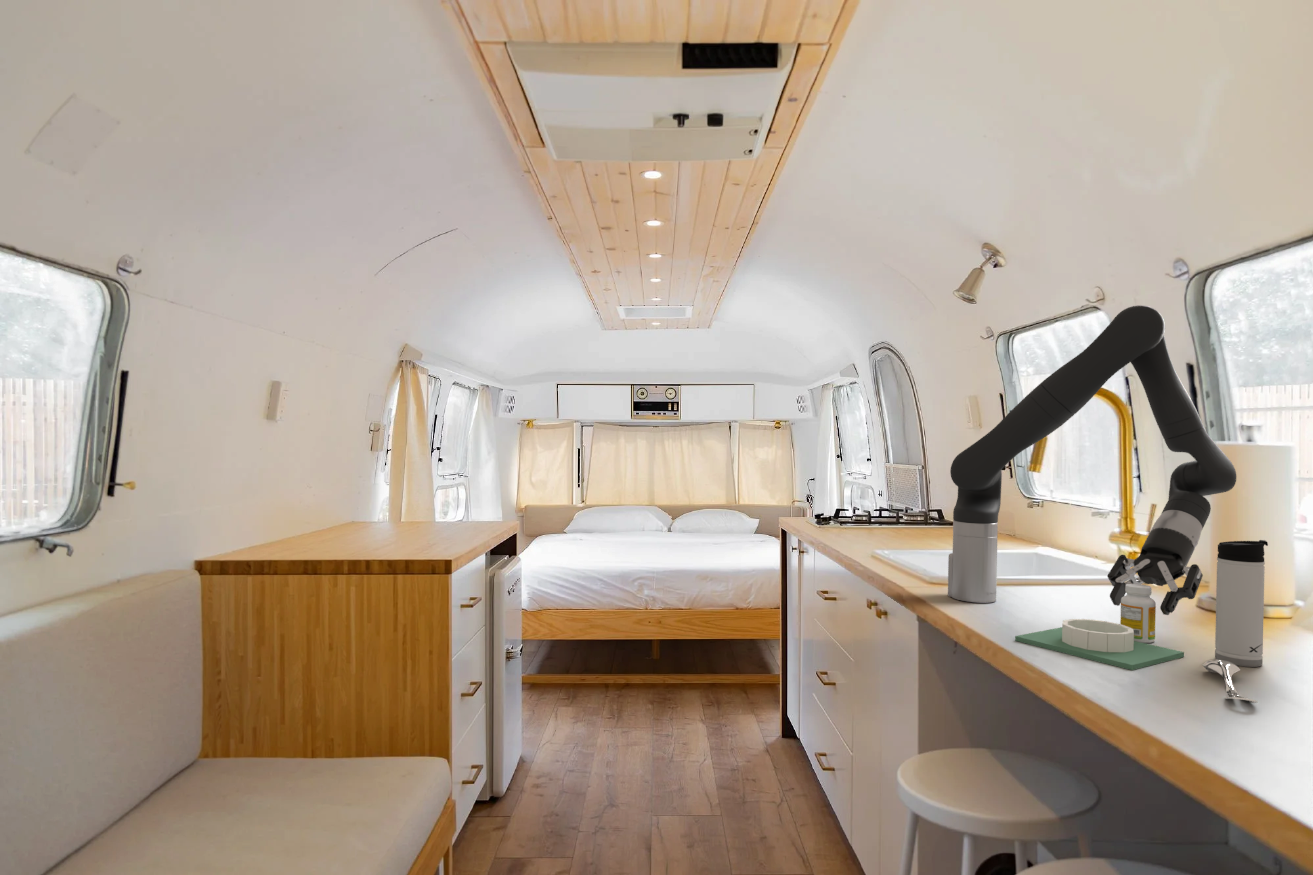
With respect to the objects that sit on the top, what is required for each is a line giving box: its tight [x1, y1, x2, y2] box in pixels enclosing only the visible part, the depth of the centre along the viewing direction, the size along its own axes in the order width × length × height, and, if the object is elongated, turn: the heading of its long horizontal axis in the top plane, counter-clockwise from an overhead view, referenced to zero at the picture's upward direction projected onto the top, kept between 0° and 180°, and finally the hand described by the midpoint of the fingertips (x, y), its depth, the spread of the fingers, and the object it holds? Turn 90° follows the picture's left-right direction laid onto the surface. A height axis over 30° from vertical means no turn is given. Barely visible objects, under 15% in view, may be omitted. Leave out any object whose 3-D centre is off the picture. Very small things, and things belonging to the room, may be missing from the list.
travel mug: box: [1214, 539, 1269, 668], centre depth 129 cm, size 6×7×20 cm
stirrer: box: [1202, 659, 1259, 704], centre depth 114 cm, size 20×4×5 cm
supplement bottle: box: [1119, 584, 1157, 644], centre depth 143 cm, size 5×5×10 cm
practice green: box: [1014, 618, 1185, 671], centre depth 136 cm, size 20×16×4 cm
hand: (1138, 607), depth 143 cm, fingers open, 8 cm apart
